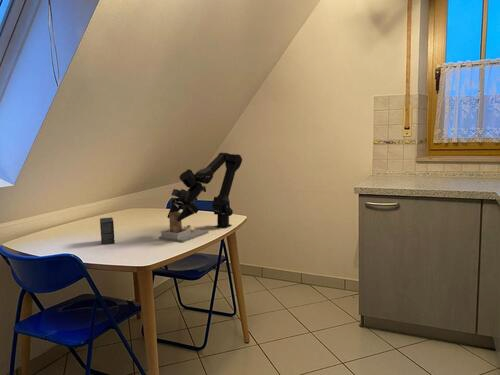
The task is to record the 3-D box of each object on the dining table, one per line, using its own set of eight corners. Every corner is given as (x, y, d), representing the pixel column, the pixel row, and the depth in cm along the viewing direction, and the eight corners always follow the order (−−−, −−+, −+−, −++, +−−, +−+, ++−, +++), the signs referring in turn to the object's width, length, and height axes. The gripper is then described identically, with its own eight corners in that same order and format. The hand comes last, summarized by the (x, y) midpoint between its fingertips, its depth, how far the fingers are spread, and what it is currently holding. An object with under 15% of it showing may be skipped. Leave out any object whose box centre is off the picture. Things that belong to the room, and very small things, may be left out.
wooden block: (177, 234, 196) (176, 211, 195) (181, 235, 193) (181, 212, 192) (170, 235, 194) (169, 212, 192) (174, 237, 191) (173, 213, 189)
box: (101, 240, 190) (99, 218, 189) (114, 239, 192) (112, 217, 191) (101, 245, 183) (100, 221, 181) (114, 243, 185) (113, 220, 183)
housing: (185, 229, 210) (185, 222, 209) (208, 232, 203) (208, 224, 202) (159, 238, 192) (158, 230, 192) (182, 242, 185) (182, 233, 185)
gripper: (172, 180, 200) (151, 206, 194) (192, 184, 185) (170, 211, 180) (186, 195, 206) (167, 220, 200) (207, 199, 191) (187, 226, 186)
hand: (172, 219), depth 192 cm, fingers open, 9 cm apart
